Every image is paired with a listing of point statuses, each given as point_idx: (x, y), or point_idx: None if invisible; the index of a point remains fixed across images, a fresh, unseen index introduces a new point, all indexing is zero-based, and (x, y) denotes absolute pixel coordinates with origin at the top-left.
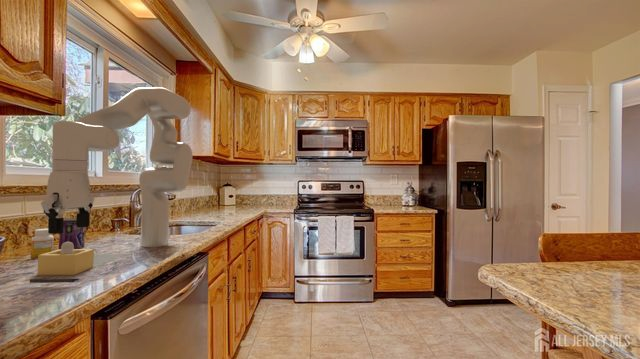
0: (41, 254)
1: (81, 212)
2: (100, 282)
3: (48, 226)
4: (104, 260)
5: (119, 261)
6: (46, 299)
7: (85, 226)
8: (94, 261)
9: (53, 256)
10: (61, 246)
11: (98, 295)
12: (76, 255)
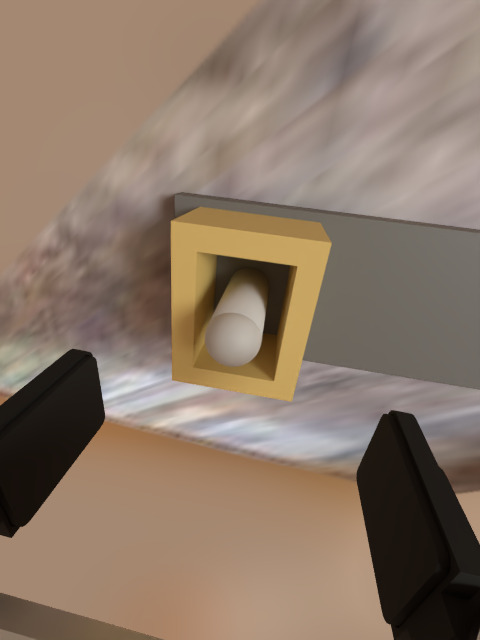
0: (188, 226)
1: (432, 622)
2: (177, 393)
3: (32, 381)
4: (399, 354)
5: None
6: (55, 334)
7: (361, 466)
8: (393, 323)
9: (173, 294)
10: (211, 322)
11: None
12: (178, 379)
